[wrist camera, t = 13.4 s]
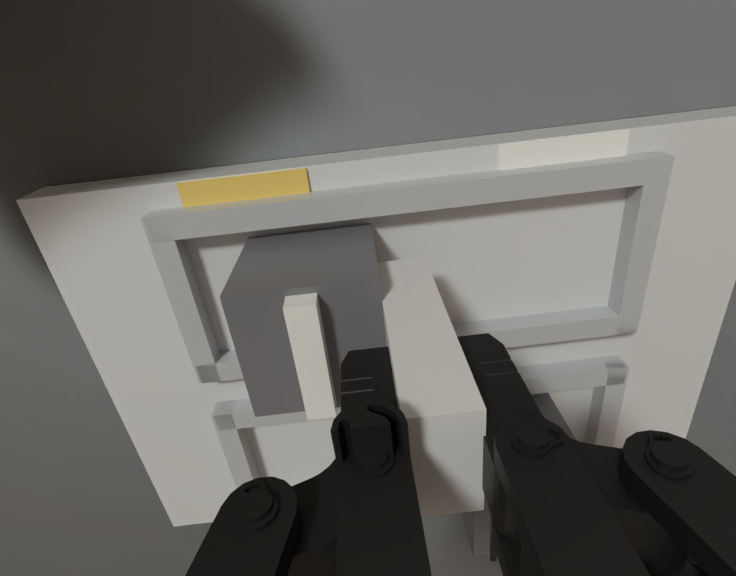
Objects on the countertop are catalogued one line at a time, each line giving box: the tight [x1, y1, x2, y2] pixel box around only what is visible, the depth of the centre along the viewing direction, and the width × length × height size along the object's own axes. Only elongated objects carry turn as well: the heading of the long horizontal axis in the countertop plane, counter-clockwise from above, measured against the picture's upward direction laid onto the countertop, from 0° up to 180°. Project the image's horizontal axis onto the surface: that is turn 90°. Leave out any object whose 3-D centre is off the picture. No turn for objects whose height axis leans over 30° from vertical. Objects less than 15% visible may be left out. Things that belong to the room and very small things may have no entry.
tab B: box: [220, 223, 387, 420], centre depth 14 cm, size 4×4×5 cm
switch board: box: [16, 106, 736, 526], centre depth 18 cm, size 24×16×2 cm, turn 96°
